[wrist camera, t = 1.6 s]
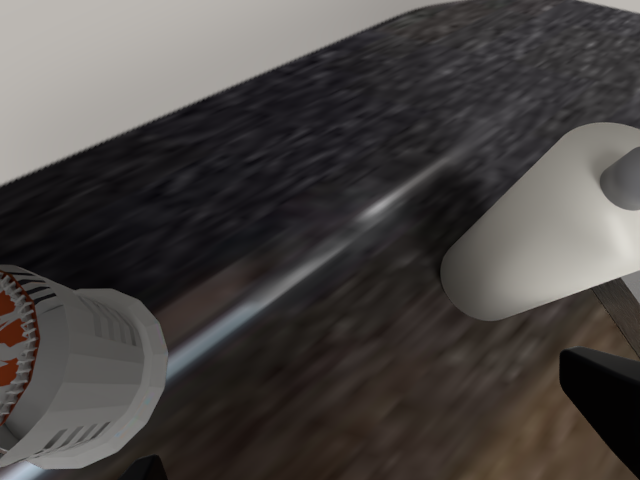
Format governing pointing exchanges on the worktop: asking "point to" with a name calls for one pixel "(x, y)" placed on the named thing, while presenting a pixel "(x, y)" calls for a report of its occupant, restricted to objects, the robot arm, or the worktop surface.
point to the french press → (74, 371)
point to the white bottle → (553, 228)
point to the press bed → (623, 305)
